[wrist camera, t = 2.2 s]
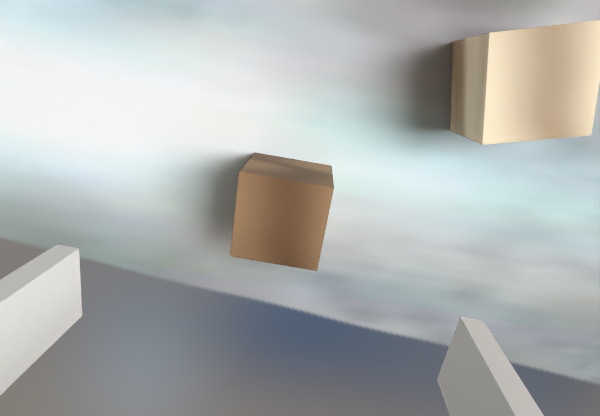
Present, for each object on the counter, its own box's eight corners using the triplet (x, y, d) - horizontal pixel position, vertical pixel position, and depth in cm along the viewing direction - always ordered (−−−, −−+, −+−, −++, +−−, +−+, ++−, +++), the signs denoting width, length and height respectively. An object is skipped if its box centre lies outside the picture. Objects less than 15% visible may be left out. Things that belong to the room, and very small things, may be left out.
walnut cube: (246, 222, 26) (229, 255, 21) (255, 152, 24) (239, 171, 19) (317, 235, 26) (316, 270, 21) (331, 165, 24) (333, 187, 19)
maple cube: (449, 130, 23) (482, 144, 18) (452, 41, 21) (489, 32, 16) (534, 122, 22) (591, 134, 18) (544, 31, 21) (609, 19, 16)
